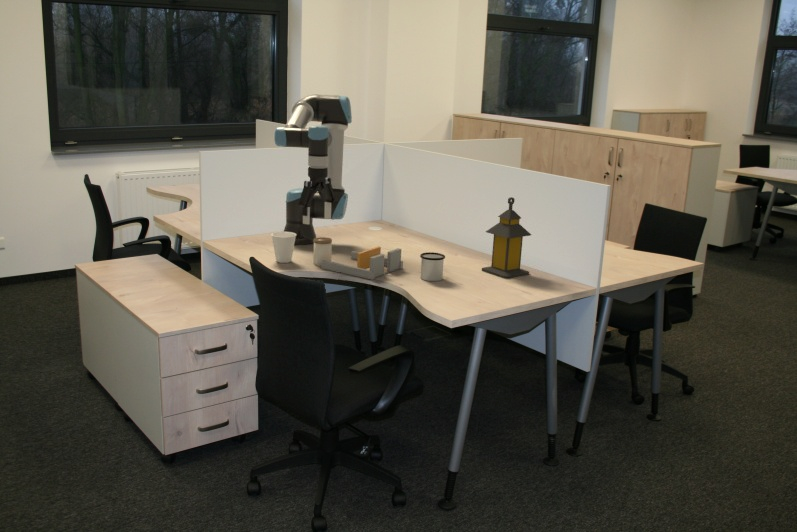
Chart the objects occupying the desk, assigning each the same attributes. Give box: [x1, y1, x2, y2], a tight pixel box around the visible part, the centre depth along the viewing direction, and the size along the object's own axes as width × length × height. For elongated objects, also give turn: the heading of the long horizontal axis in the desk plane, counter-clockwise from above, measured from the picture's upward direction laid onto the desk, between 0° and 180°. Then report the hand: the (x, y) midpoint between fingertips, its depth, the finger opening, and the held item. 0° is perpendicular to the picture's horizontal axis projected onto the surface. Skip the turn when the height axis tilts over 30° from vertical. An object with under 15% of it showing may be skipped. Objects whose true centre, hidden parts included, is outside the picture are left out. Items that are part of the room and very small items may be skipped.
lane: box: [321, 248, 404, 281], centre depth 291 cm, size 21×24×8 cm
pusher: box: [356, 246, 388, 270], centre depth 288 cm, size 14×9×7 cm, turn 147°
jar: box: [313, 236, 333, 267], centre depth 295 cm, size 7×7×10 cm
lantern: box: [481, 197, 532, 280], centre depth 292 cm, size 14×14×30 cm
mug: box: [419, 251, 446, 282], centre depth 283 cm, size 12×10×9 cm
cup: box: [270, 231, 296, 264], centre depth 297 cm, size 10×10×11 cm
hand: (317, 221), depth 291 cm, fingers open, 13 cm apart
